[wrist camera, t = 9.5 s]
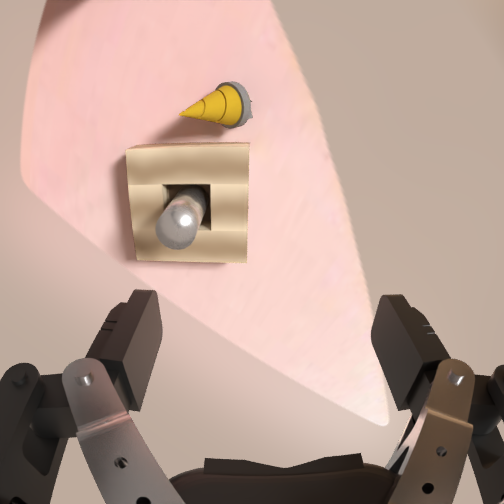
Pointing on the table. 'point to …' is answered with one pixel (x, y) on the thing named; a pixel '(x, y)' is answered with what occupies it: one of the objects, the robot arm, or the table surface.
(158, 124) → the table surface
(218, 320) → the table surface
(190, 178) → the socket block
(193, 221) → the pin
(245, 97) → the drill bit
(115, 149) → the table surface
